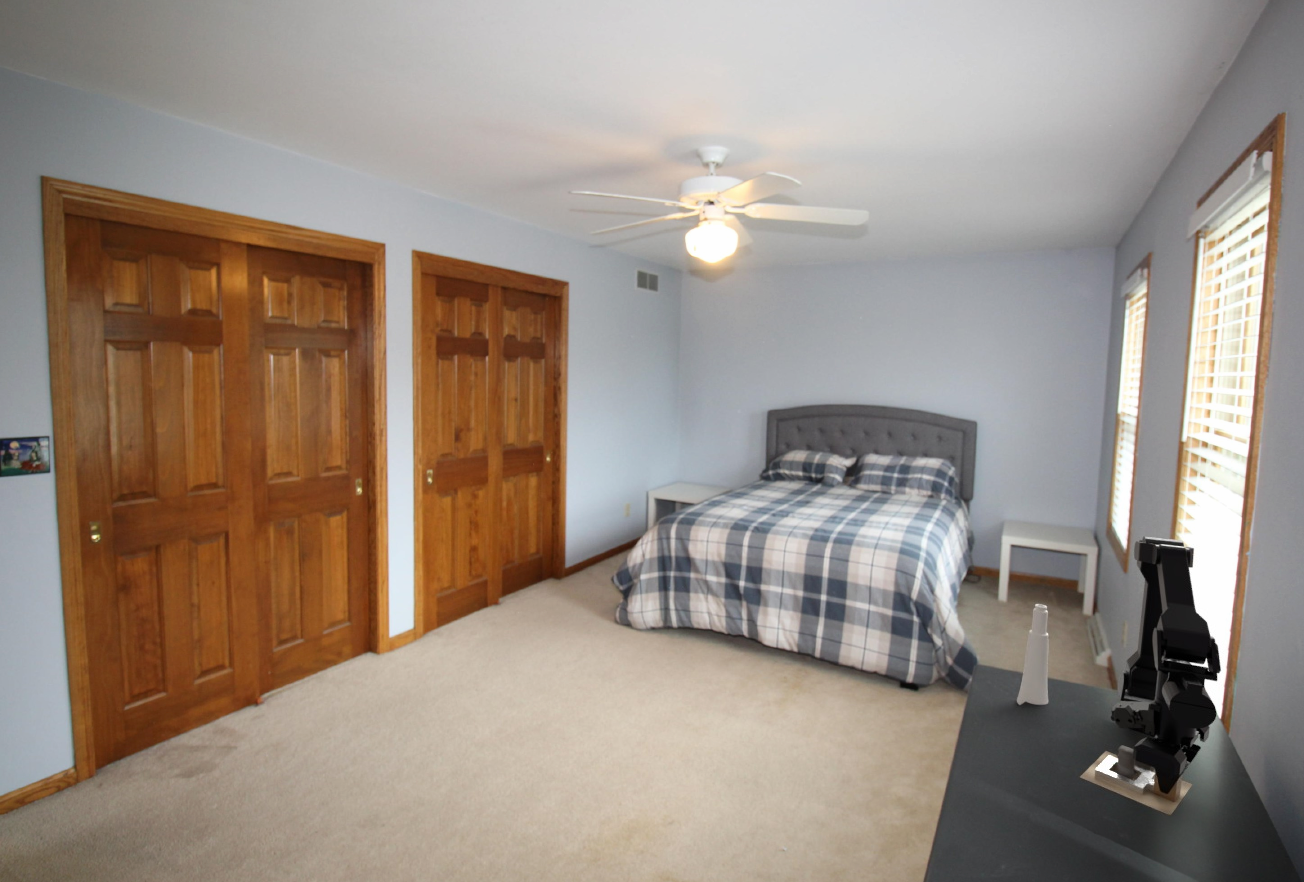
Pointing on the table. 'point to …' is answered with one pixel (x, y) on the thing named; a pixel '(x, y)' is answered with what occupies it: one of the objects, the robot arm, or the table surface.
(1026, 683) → the cosmetic bottle
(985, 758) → the table surface
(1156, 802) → the maple peg board
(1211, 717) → the robot arm
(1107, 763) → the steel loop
